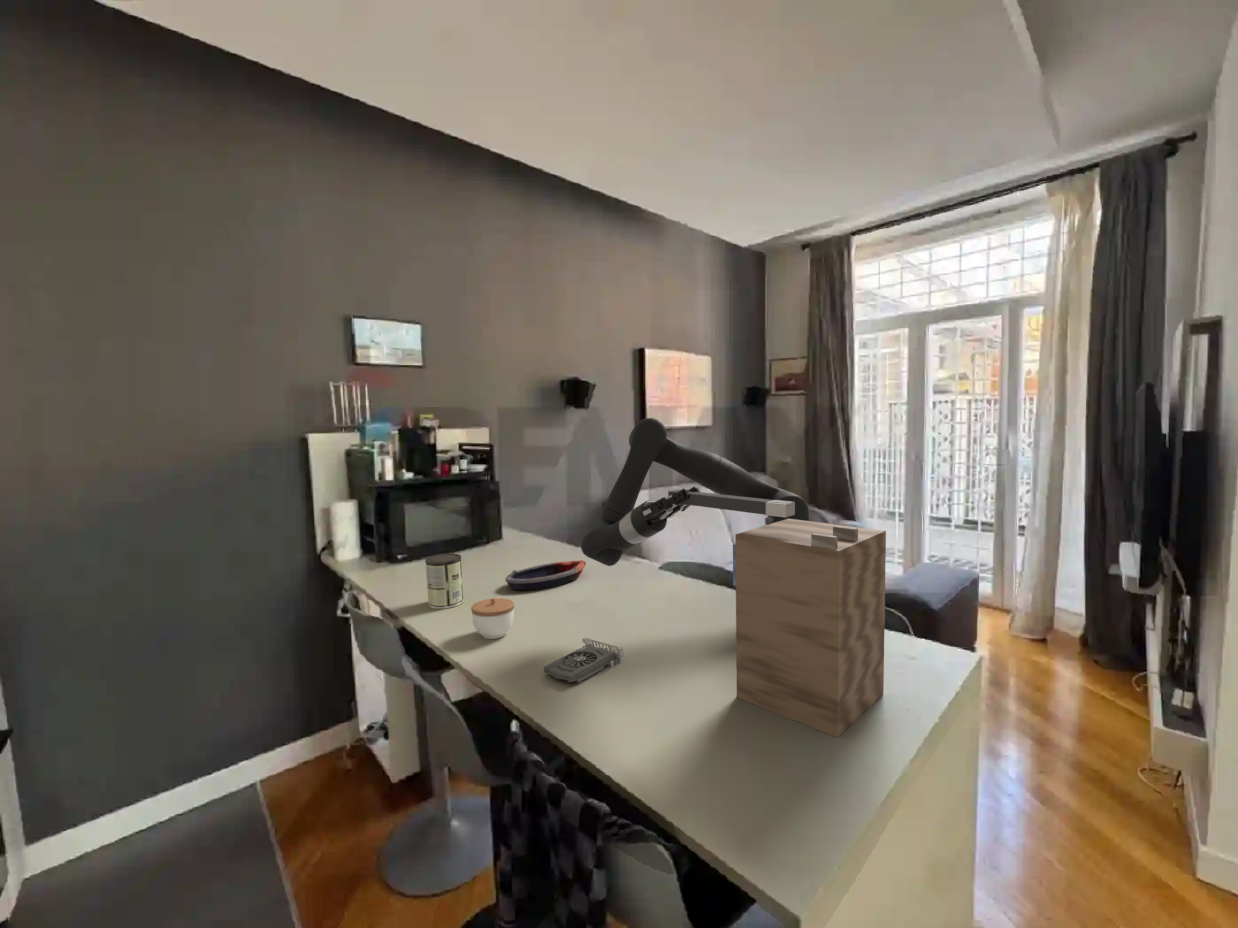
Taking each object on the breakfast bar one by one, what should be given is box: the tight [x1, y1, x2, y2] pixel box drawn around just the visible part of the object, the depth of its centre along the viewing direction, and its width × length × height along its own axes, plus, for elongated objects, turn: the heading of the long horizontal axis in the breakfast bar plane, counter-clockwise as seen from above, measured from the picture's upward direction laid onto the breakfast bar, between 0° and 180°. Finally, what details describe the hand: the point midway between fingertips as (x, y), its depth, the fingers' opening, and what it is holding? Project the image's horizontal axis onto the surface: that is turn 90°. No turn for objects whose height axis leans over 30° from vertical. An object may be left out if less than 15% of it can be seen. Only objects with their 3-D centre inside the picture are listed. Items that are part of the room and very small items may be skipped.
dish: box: [505, 560, 586, 591], centre depth 186 cm, size 16×31×5 cm, turn 127°
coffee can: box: [424, 552, 464, 610], centre depth 166 cm, size 10×10×14 cm
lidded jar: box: [470, 597, 515, 640], centre depth 142 cm, size 11×11×9 cm
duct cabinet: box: [732, 519, 887, 739], centre depth 106 cm, size 20×21×34 cm
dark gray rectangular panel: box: [667, 489, 795, 517], centre depth 111 cm, size 3×28×2 cm, turn 44°
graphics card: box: [543, 637, 625, 684], centre depth 122 cm, size 17×4×12 cm
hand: (692, 491), depth 117 cm, fingers closed on dark gray rectangular panel, 3 cm apart
